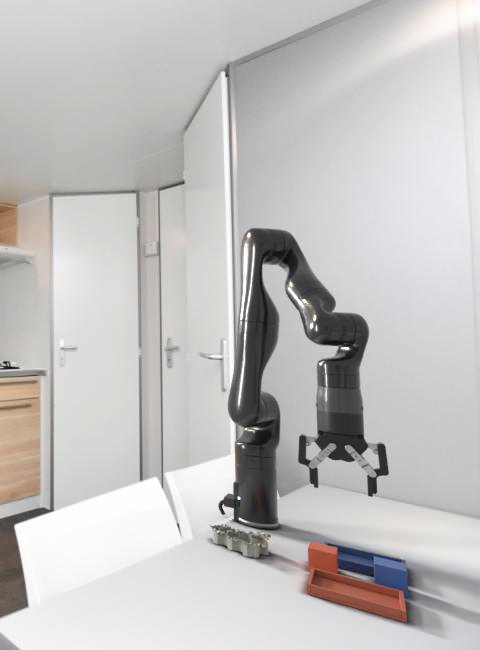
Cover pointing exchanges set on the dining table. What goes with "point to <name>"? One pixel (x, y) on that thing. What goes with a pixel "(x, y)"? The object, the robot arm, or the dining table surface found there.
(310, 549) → the terracotta block
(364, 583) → the terracotta tray
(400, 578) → the blue block
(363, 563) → the blue tray
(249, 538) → the egg carton
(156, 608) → the dining table surface
